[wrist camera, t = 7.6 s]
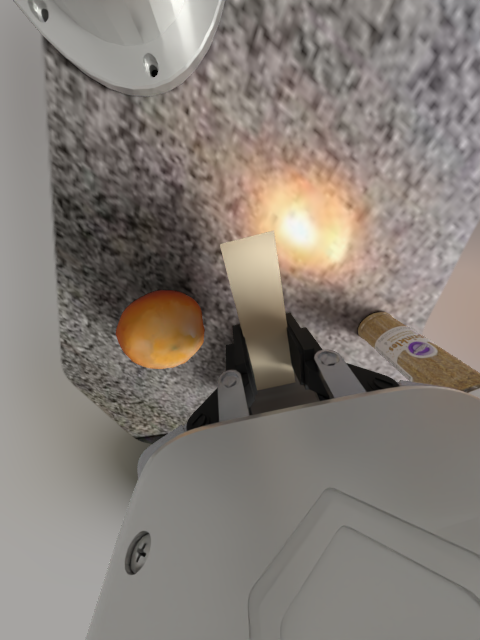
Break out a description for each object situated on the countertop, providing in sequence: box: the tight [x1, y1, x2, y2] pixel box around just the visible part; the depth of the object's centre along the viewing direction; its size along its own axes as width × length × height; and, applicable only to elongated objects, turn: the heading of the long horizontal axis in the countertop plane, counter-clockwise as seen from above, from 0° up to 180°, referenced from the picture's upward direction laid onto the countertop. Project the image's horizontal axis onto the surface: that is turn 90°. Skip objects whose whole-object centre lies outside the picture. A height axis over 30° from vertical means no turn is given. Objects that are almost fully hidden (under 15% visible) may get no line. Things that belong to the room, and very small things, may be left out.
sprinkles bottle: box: [358, 312, 480, 398], centre depth 19 cm, size 5×5×13 cm
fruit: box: [116, 290, 204, 369], centre depth 18 cm, size 8×8×8 cm
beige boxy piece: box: [220, 231, 318, 415], centre depth 11 cm, size 11×6×7 cm, turn 12°
